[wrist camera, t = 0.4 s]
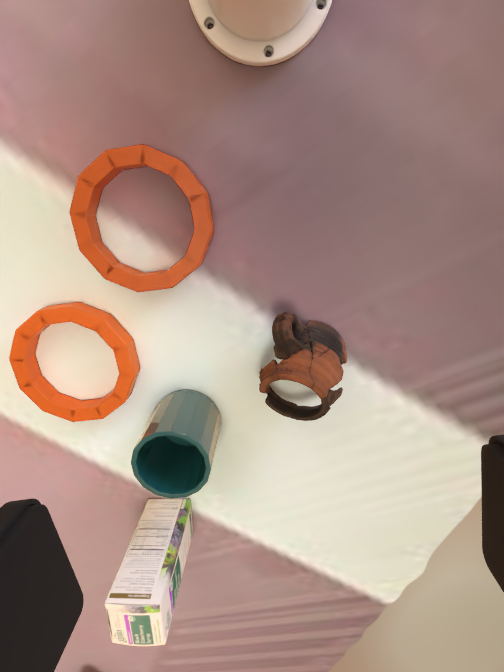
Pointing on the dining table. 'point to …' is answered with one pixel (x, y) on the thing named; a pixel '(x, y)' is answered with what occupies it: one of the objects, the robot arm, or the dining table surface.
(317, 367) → the broken clay pot
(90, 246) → the orange ring
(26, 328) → the orange ring
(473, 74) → the dining table surface
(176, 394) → the tumbler
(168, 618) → the syrup box
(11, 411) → the dining table surface
